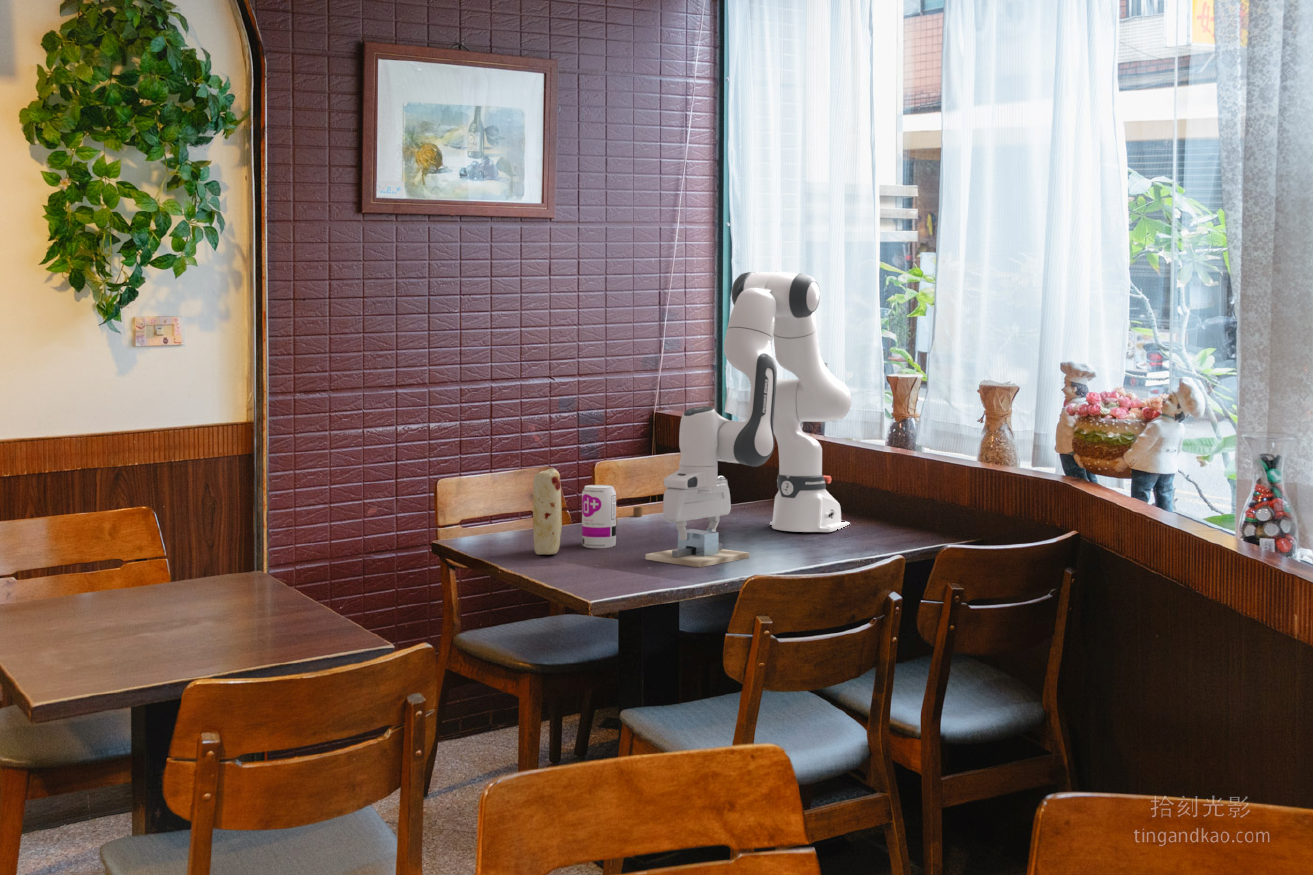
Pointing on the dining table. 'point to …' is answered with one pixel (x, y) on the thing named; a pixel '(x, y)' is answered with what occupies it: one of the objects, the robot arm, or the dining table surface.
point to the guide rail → (688, 551)
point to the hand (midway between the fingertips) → (697, 537)
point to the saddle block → (701, 542)
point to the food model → (547, 512)
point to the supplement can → (598, 516)
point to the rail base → (698, 558)
